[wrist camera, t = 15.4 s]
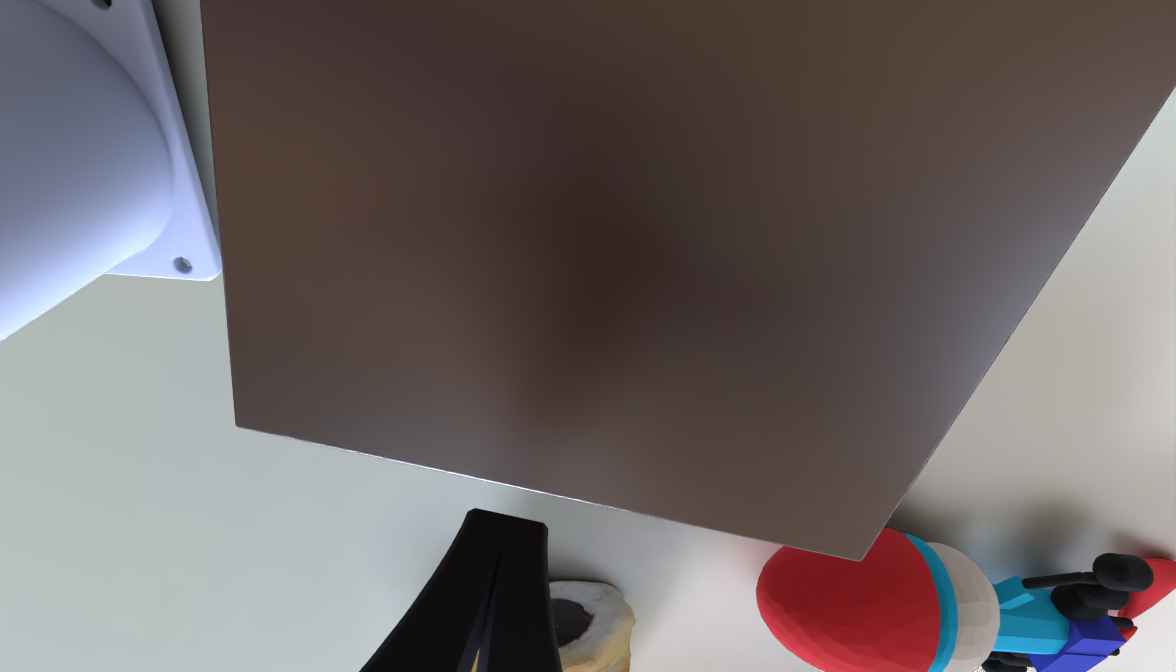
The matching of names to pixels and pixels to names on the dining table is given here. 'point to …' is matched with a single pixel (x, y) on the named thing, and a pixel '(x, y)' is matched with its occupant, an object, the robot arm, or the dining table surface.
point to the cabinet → (658, 232)
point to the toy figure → (951, 609)
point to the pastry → (590, 627)
